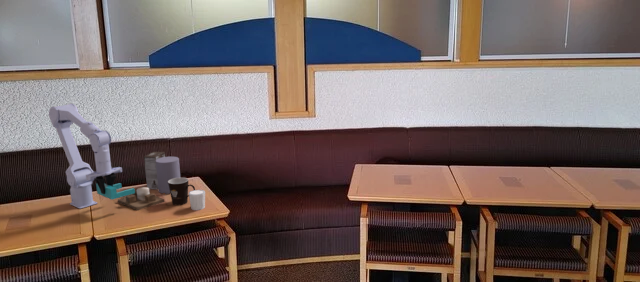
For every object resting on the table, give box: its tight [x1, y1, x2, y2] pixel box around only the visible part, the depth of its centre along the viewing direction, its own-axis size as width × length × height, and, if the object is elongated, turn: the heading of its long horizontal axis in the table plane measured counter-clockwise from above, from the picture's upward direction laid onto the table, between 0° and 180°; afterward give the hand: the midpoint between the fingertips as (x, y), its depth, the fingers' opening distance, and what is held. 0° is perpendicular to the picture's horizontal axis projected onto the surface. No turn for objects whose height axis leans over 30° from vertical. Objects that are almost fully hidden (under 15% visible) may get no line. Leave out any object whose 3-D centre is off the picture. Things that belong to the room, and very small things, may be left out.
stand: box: [117, 186, 165, 211], centre depth 230 cm, size 13×16×6 cm
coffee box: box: [143, 151, 166, 190], centre depth 249 cm, size 9×6×16 cm
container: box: [156, 156, 181, 195], centre depth 243 cm, size 10×10×15 cm
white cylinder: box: [188, 189, 206, 211], centre depth 221 cm, size 7×7×7 cm
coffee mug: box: [168, 177, 196, 206], centre depth 226 cm, size 12×9×10 cm
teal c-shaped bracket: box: [95, 182, 135, 201], centre depth 220 cm, size 10×12×4 cm
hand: (106, 192), depth 217 cm, fingers closed on teal c-shaped bracket, 2 cm apart
